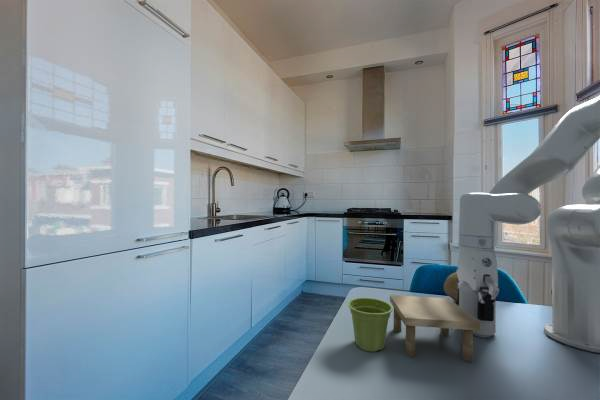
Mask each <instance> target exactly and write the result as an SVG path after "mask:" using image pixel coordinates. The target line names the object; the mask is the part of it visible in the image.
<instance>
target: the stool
mask: <svg viewBox="0 0 600 400" xmlns="http://www.w3.org/2000/svg"><path fill="white" fill-rule="evenodd" d="M389 302H390V305H391V306H392V307H393V324H392V325H393V329H392V330H393V331H394V332H397V333H401V332H402V323H403V324H404V326H405V356H407V357H409V358H416V327H420V328H421V327H423V328H424V327H425V328H437V329H439V328H440V334H441V335H442V336H449V335H450V330H452V329H453V330H462V347H461V349H462V351H461V352H462V360H463V361H465V362H468V363H473V362H474V335H473V330H479V331H480V322H478V321H477V320H476V319H475V318H473V317H472V316H471V315H469V314H468V313H467V312H466V311H464V310H463V309H462V308H460V307H459V304H458V303H457V304H456V302H455V301H454V300H451V299H450V297H448V298H447V297H431V296H430V297H429V296H416V295H415V296H414V295H413V296H412V295H410V296H409V295H393V294H390V295H389Z"/></svg>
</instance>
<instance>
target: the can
mask: <svg viewBox="0 0 600 400" xmlns="http://www.w3.org/2000/svg"><path fill="white" fill-rule="evenodd" d="M462 282H463V284H462V285H461V286H460V287H459V304H458V306H459V307H460V308H462V309H463V310H464V311H466V312H467V313H468V314H469V315H471V316H472V317H473V318H475V319H476V320H477V321H478V322H480V331H479V330H473V336H475V337H480V338H490V337H492V336H493V335H495V334H496V332H497V331H496V329H497V327H496V326H497V325H496V324H497V323H496V314H497V311H496V308H497V307H496V304H497V303H495V305H494V320H493V321H482V320H479V319H478V318H477V313H478V302H480V300H479V297H478V294H477V292H475V291H473V290H472V289H470V287H469V284H467V283H465V282H464V281H462ZM480 289H486V288H480ZM485 295H486V294H483V296H485Z"/></svg>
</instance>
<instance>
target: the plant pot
mask: <svg viewBox="0 0 600 400" xmlns="http://www.w3.org/2000/svg"><path fill="white" fill-rule="evenodd" d="M347 306H348V308H349V310H350V311H349V312H350V314H351V317H352V318H351V319H352V326H353V334H354V335H353V336H354V341H355V345H357V346H358V347H359V349H361V350H363V351H367V352H371V353H372V352H376V351H379V350H380V351H382V350H384V348H385V344H386V342H385V341H386V336H387V329H388V324H389V319H390V317H391V313H392V312H393V311H394V307H393V305H392V304H391V303H389V302H387V301H385V300H382V299H378V298H373V297H372V298H371V297H357V298H353V299H351V300H349V301H348V302H347Z"/></svg>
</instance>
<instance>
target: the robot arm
mask: <svg viewBox="0 0 600 400" xmlns="http://www.w3.org/2000/svg"><path fill="white" fill-rule="evenodd" d="M599 140H600V95H599V96H597V97H595V98H593V99H591V100H588V101H586V102H583V103H581V104H579V105H577V106H575V107H573V108H572V109H570V110H569V111H567V112H566V113H565V114H564V115H563V116H562V117H561V118H560V119H559V120H558V122H557V123H556V124H555V125H554V126H553V128H552V129H551V130H550V131H549V133H548V134H547V135H546V136H545V137H544V139H543V140H542V141H541V142H540V143H539V144H538V146H536V148H535V149H534V150H533V152H531V153H530V154H529V155H528V156H527V157H526V158H525V159H523V160H521V161H520V162H519V163H518V164H517V165H516V166H515V167H513V168H512V169H511V170H509V171H508V172H507V173H506V174H505V175H504V176H503V177H502V178H501V179H500V180H498V182H497V183H496V184H495V185H494V186H493V187H492V188H491V190H490V191H489V192H466V193H463V194H462V195H461V196H460V197H459V211H458V212H459V213H458V214H459V218H458V221H459V222H458V244H457V245H458V248H459V254H458V261H457V269H456V271H455V272H457V281H458V284H457V287H458V303H457V305H459V287H460V286H461V285H462V284H463V282H462V281H464V282H465V283H467V284H469V287H470V289H472V290H473V291H475V292H477V294H478V297H479V300H480V302H478V313H477V318H478V319H479V320H482V321H493V320H494V305H495V303H496V301H497V300H498V296H499V293H500V288H499V276H498V274H499V272H498V263H497V255H496V249H495V248H496V223H499V224H507V225H508V224H509V225H517V226H520V225H522V226H523V225H528V224H530V223H532V222H534V221H536V220H537V219H538V218H539V216H540V215H541V214H542V213H541V212H542V205H541V203H540V202H539V200H538V199H537V198H535V197H534V196H533V195H530V194H531V193H532V192H533V191H535V190H536V189H538V188H540V187H541V186H542V187H543V185H546V184H548V183H551V182H553V181H556V180H557V179H559V178H562V177H563V176H565V175H567V174H568V173H570V172H572V171H573V170H574V169H575V167H576V166H577V165H578V164H579V163H580V162H581V160H582V159H583V158H584V157H585V156H586V154H588V152H589V151H590V150H591V149H592V148H593V146H595V144H596V143H597V142H598V141H599ZM581 195H582V197H583V199H584V201H586V202H587V203H583V204H582V203H576V204H567V205H563V206H560V207H558V208H556V209H554V210H553V211H551V213H550V214H549V215H548V216H547V217H548V218H547V221H546V231H547V236H548V239H549V244H550V248H551V249H550V251H551V266H552V267H551V297H552V298H551V302H552V303H551V307H552V308H551V309H552V310H551V311H552V312H551V314H552V315H551V316H552V317H551V318H552V319H551V321H552V323H546V324H545V325H543V332H544V333H545V335H547V336H548V337H550V338H551V339H553V340H556V341H557V342H559V343H562V344H565V345H567V346H570V347H573V348H576V349H579V350H584V351H587V352H591V353H596V354H597V353H598V354H600V164H599V165H598V166H597V167H596V169H595V170H594V171H593V172H592V174H591V175H590V176H589V177H588V178H587V180H585V182H584V184H583V185H582V188H581ZM480 288H486V289H480ZM483 294H486V295H485V296H483ZM496 304H497V303H496Z"/></svg>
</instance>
